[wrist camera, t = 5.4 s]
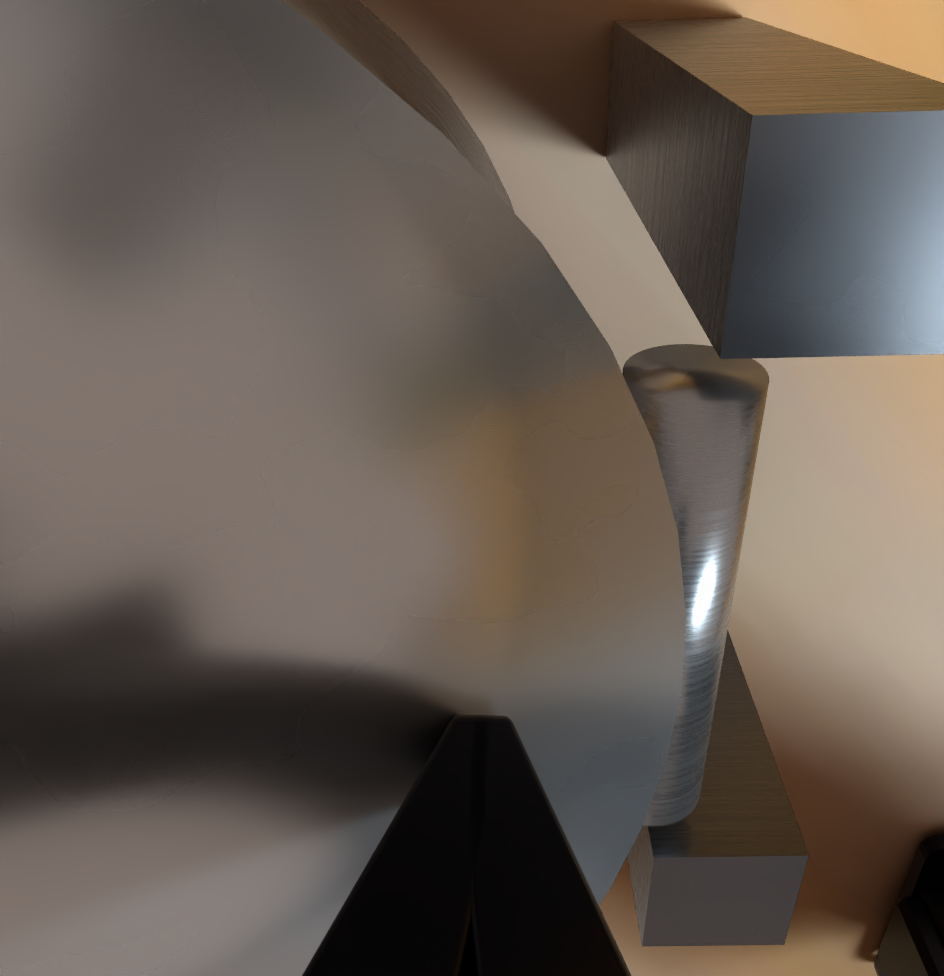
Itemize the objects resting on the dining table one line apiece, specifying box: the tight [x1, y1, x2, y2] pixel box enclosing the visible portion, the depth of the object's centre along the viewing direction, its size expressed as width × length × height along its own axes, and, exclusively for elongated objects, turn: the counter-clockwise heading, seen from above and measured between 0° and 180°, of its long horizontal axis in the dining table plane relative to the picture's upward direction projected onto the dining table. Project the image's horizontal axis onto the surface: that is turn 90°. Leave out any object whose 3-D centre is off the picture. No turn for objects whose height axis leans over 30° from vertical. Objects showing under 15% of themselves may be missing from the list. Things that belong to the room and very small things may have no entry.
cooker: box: [279, 0, 944, 946], centre depth 13 cm, size 18×21×8 cm
